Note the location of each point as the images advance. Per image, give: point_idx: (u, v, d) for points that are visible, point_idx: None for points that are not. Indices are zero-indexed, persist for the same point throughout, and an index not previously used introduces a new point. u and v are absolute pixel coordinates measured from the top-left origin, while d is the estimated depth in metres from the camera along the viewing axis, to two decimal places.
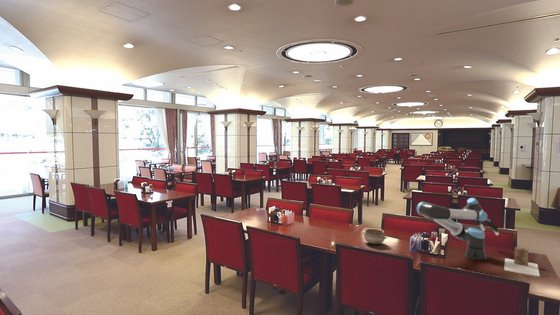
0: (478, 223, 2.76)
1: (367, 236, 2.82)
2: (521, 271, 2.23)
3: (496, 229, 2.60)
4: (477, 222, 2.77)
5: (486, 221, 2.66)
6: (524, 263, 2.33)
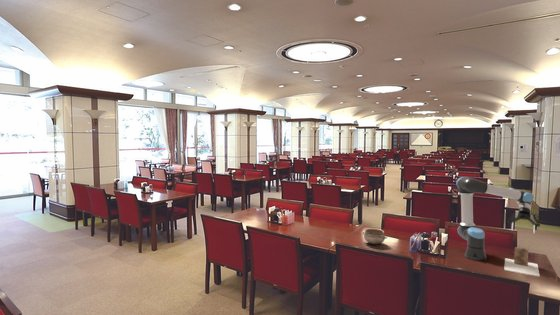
0: (513, 219, 2.52)
1: (367, 236, 2.82)
2: (521, 271, 2.23)
3: (539, 225, 2.40)
4: (511, 219, 2.53)
5: None
6: (524, 263, 2.33)
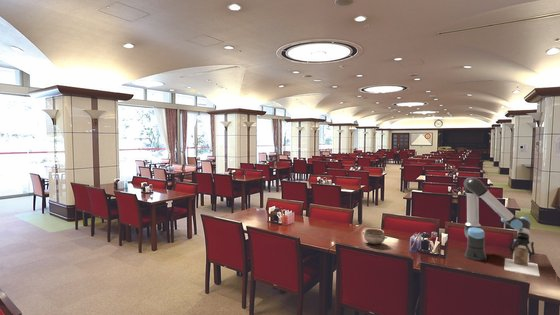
0: None
1: (367, 236, 2.82)
2: (521, 271, 2.23)
3: None
4: (511, 247, 2.42)
5: (527, 244, 2.39)
6: (524, 263, 2.33)
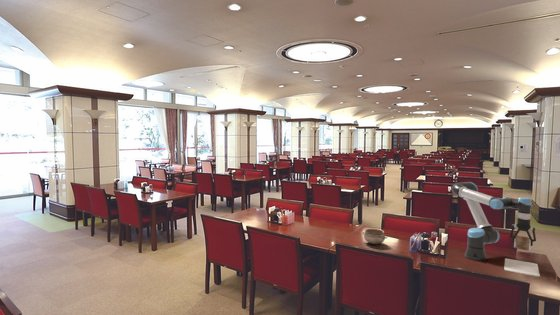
0: (514, 235, 2.32)
1: (367, 236, 2.82)
2: (521, 271, 2.23)
3: None
4: None
5: None
6: (525, 249, 2.31)
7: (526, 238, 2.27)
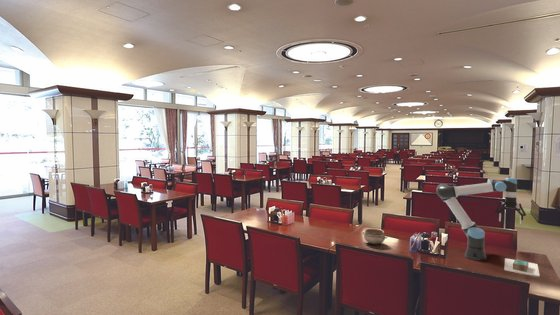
0: (500, 210, 2.56)
1: (367, 236, 2.82)
2: (521, 271, 2.23)
3: (525, 215, 2.45)
4: (498, 209, 2.57)
5: (515, 206, 2.50)
6: None
7: (523, 267, 2.23)
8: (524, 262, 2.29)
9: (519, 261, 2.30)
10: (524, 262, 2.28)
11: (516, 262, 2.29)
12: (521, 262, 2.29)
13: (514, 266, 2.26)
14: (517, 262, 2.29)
